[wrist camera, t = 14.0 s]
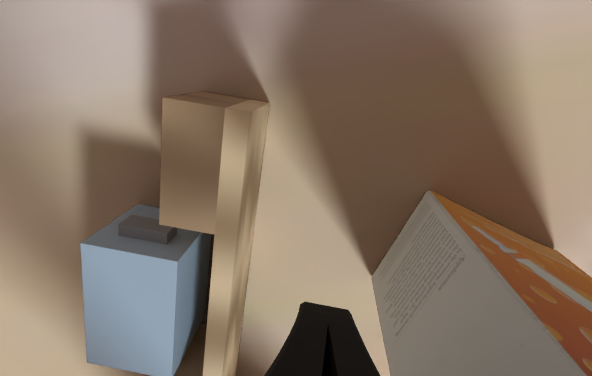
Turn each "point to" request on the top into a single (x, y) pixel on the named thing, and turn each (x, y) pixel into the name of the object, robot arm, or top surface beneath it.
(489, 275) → the small box
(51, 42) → the top surface
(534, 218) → the top surface
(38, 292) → the top surface
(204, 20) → the top surface
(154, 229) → the cabinet block
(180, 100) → the beige wooden bar
